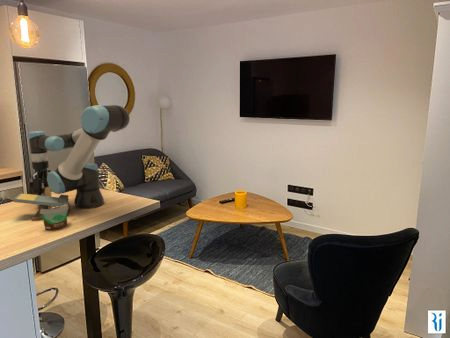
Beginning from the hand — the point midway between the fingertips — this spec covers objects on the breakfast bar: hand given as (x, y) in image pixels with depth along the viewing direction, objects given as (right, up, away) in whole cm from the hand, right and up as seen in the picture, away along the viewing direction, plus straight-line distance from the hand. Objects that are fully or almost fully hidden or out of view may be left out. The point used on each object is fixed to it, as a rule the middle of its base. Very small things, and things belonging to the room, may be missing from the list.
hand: (44, 203), depth 179 cm
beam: (+7, +3, -15) cm, 17 cm away
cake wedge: (+22, -8, -29) cm, 38 cm away
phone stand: (-10, 0, +10) cm, 14 cm away
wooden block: (0, -2, 0) cm, 2 cm away
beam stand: (+11, -4, -13) cm, 17 cm away
